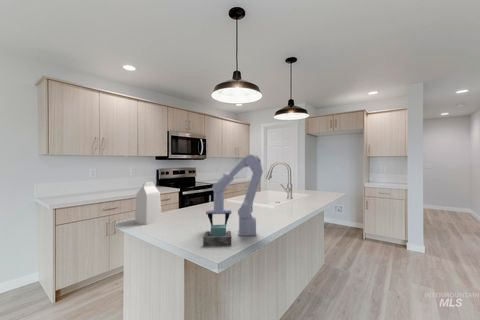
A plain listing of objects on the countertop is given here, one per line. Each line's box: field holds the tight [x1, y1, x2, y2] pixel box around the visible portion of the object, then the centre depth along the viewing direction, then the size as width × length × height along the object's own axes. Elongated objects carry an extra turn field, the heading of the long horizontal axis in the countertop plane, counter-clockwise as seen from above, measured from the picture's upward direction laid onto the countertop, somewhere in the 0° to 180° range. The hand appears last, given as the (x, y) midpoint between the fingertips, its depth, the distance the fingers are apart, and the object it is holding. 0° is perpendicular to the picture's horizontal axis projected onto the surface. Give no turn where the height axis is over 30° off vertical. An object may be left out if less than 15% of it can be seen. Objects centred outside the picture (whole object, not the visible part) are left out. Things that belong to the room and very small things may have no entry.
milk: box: [134, 181, 163, 226], centre depth 148 cm, size 12×12×26 cm
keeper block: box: [210, 224, 227, 236], centre depth 121 cm, size 8×6×5 cm
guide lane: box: [202, 230, 232, 247], centre depth 115 cm, size 13×18×4 cm
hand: (218, 226), depth 128 cm, fingers open, 7 cm apart
